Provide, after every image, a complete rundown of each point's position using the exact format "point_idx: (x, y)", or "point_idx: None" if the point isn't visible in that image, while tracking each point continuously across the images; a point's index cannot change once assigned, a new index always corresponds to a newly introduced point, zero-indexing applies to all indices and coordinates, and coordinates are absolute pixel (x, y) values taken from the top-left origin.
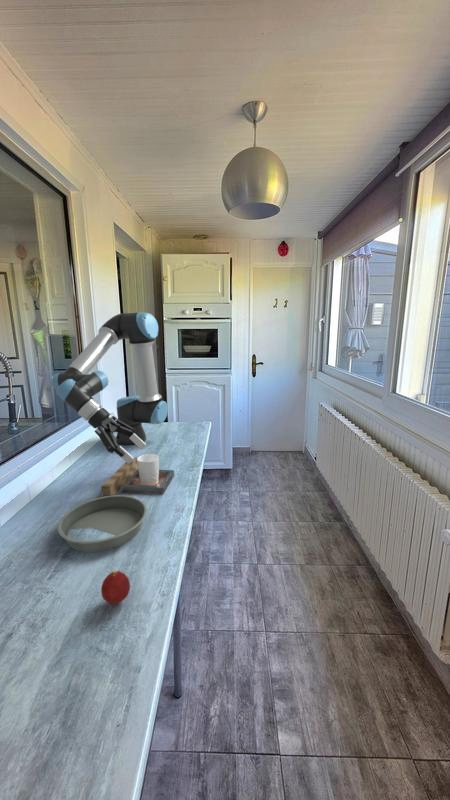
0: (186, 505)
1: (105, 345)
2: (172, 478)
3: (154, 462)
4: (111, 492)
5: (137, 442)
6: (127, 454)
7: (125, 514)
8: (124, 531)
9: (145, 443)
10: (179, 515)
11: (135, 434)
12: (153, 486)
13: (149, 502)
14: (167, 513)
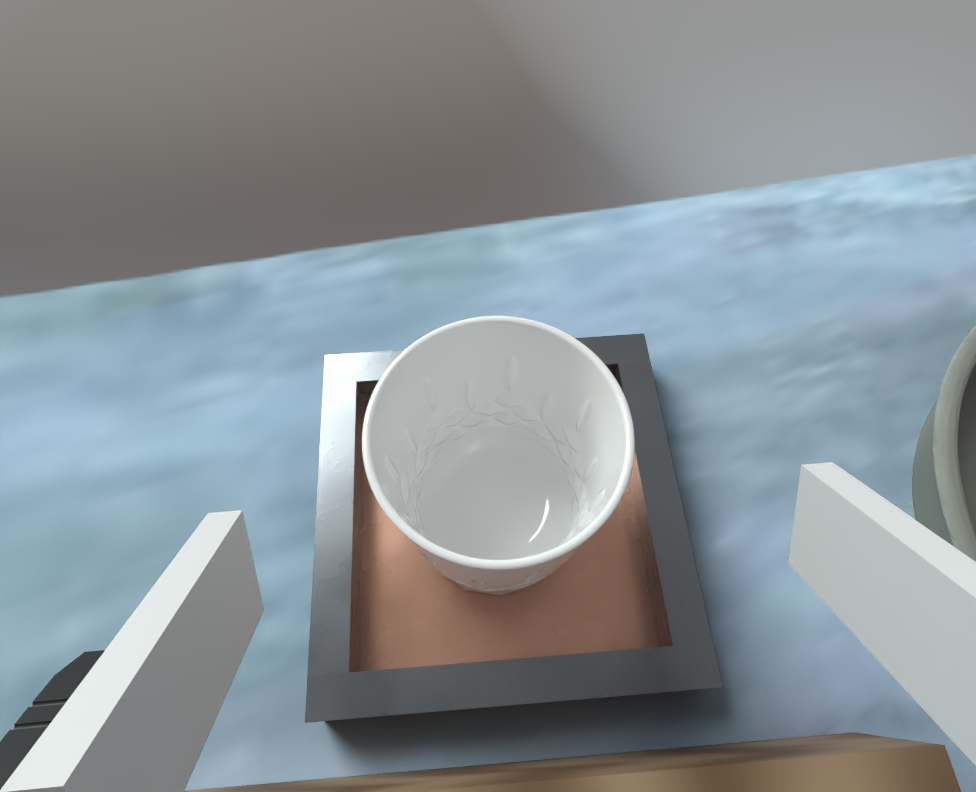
0: (719, 206)
1: None
2: None
3: (558, 343)
4: (867, 740)
5: (207, 667)
6: (908, 528)
7: (970, 499)
8: None
9: (200, 524)
10: (826, 211)
11: (53, 732)
12: (643, 408)
13: (764, 408)
14: (835, 269)
